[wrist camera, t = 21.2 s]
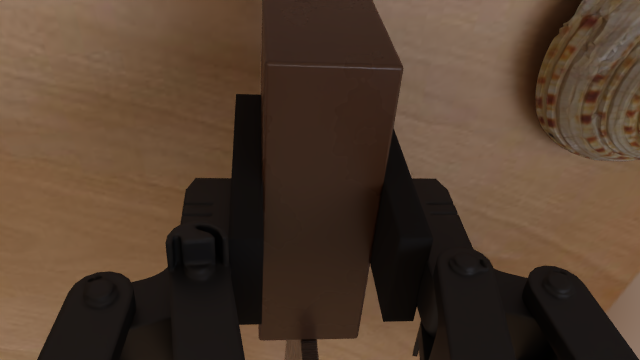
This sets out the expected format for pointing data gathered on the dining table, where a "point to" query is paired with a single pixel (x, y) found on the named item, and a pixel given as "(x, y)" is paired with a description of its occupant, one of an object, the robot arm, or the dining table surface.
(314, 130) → the knife
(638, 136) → the seashell
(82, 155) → the dining table surface
